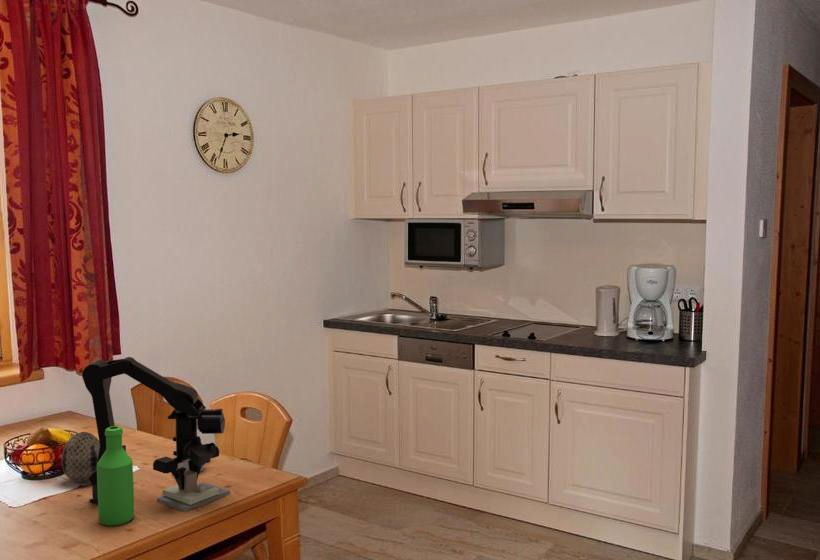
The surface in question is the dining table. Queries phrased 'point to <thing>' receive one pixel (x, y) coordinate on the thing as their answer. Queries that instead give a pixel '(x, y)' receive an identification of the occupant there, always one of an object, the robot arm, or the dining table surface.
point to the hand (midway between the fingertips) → (187, 487)
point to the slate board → (186, 507)
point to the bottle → (115, 481)
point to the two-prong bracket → (189, 490)
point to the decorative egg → (80, 457)
